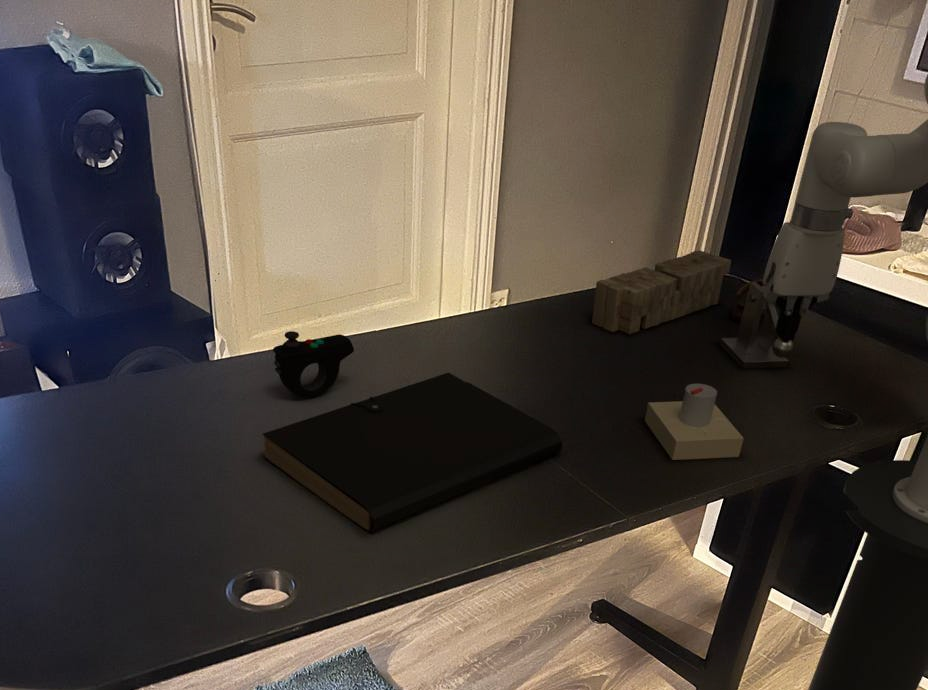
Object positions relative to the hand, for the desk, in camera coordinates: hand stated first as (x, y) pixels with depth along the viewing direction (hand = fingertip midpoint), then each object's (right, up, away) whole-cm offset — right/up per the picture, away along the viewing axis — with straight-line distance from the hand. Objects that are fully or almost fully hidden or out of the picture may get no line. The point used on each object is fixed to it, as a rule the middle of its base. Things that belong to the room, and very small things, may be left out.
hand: (784, 336), depth 155 cm
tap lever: (-1, +3, +4) cm, 5 cm away
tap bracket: (-2, 0, +11) cm, 11 cm away
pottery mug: (+3, +11, +24) cm, 27 cm away
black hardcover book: (-59, -24, -22) cm, 67 cm away
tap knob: (-18, -17, -16) cm, 30 cm away
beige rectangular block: (-19, -19, -14) cm, 30 cm away
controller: (-74, -11, -8) cm, 75 cm away
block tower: (-15, +12, +24) cm, 31 cm away
